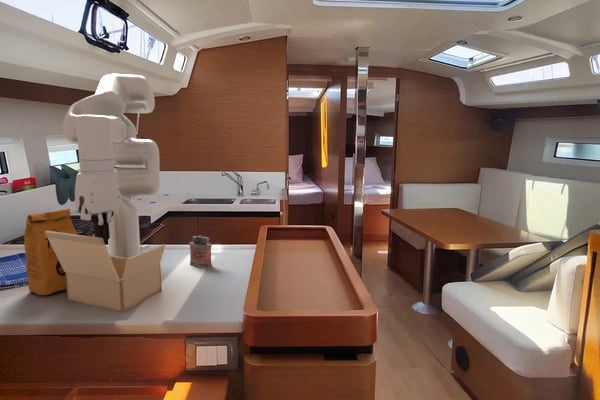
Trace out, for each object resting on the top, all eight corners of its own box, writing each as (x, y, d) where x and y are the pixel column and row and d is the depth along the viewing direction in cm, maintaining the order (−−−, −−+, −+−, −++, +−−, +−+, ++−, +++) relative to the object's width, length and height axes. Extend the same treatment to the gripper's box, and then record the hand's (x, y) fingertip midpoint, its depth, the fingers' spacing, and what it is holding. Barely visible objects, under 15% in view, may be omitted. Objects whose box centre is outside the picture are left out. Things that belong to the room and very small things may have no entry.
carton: (104, 280, 112) (101, 235, 109) (168, 292, 104) (166, 243, 102) (61, 299, 99) (56, 248, 96) (130, 313, 91) (127, 259, 89)
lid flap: (46, 230, 91) (44, 231, 90) (102, 238, 85) (100, 239, 85) (66, 270, 96) (64, 271, 96) (119, 279, 91) (117, 281, 90)
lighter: (187, 265, 126) (186, 236, 125) (194, 262, 129) (193, 233, 128) (208, 268, 123) (207, 238, 122) (214, 265, 126) (213, 236, 125)
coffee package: (90, 285, 108) (84, 209, 104) (42, 300, 98) (33, 217, 94) (72, 278, 113) (66, 205, 110) (24, 291, 103) (16, 212, 99)
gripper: (109, 163, 101) (114, 230, 104) (57, 168, 87) (64, 245, 90) (132, 165, 99) (136, 233, 102) (82, 170, 85) (88, 249, 88)
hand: (102, 238), depth 96 cm, fingers closed
